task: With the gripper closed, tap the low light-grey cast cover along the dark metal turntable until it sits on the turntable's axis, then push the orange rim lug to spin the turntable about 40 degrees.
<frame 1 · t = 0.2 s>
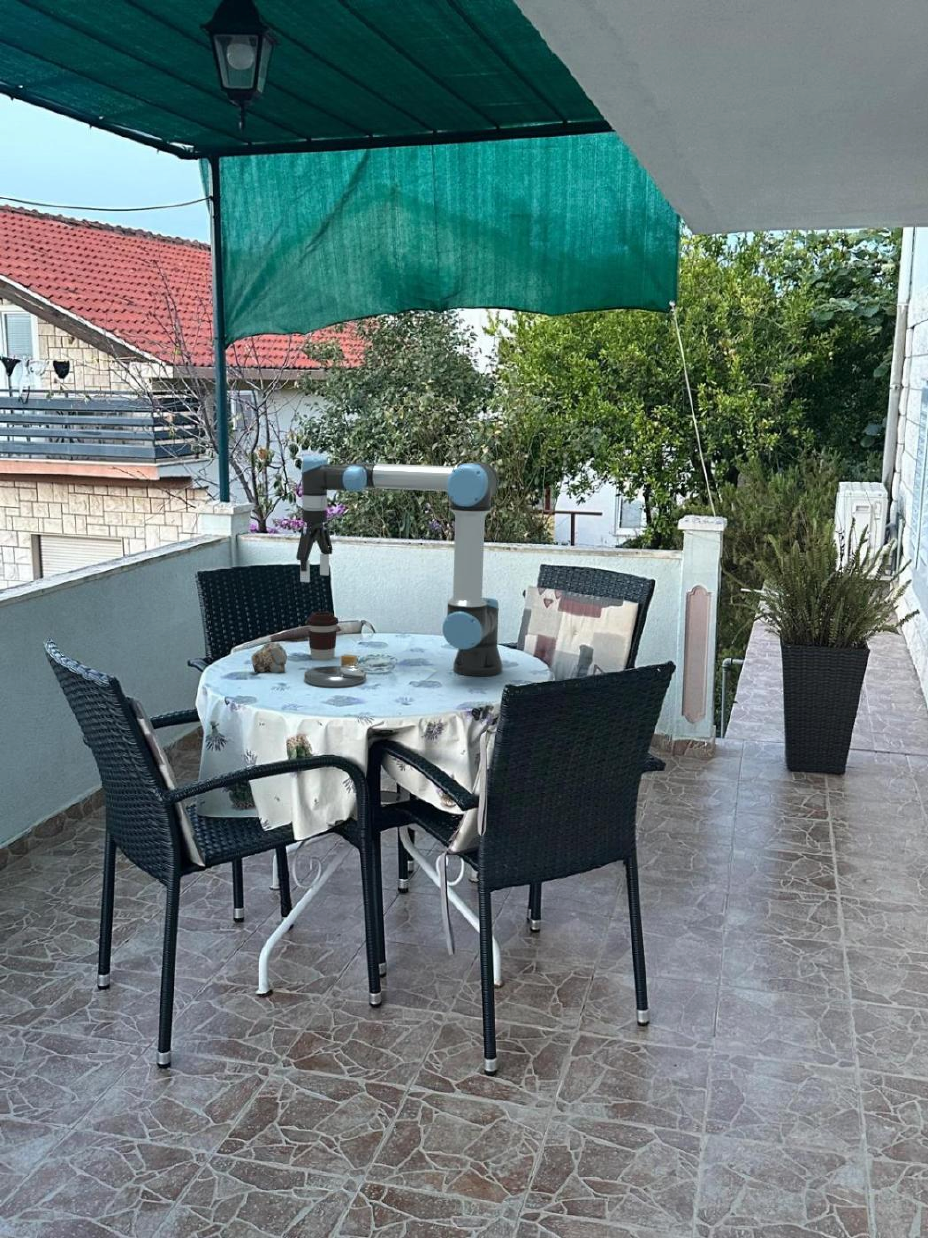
hand: (314, 578, 356), 28 cm above the table, fingers open, 13 cm apart
rock: (270, 673, 352), on the table
cover: (352, 675, 340), point 3 cm above the table, touching turntable
coffee cup: (322, 660, 370), on the table
turntable: (337, 670, 343), point 3 cm above the table, hinge at 0.0°, touching cover
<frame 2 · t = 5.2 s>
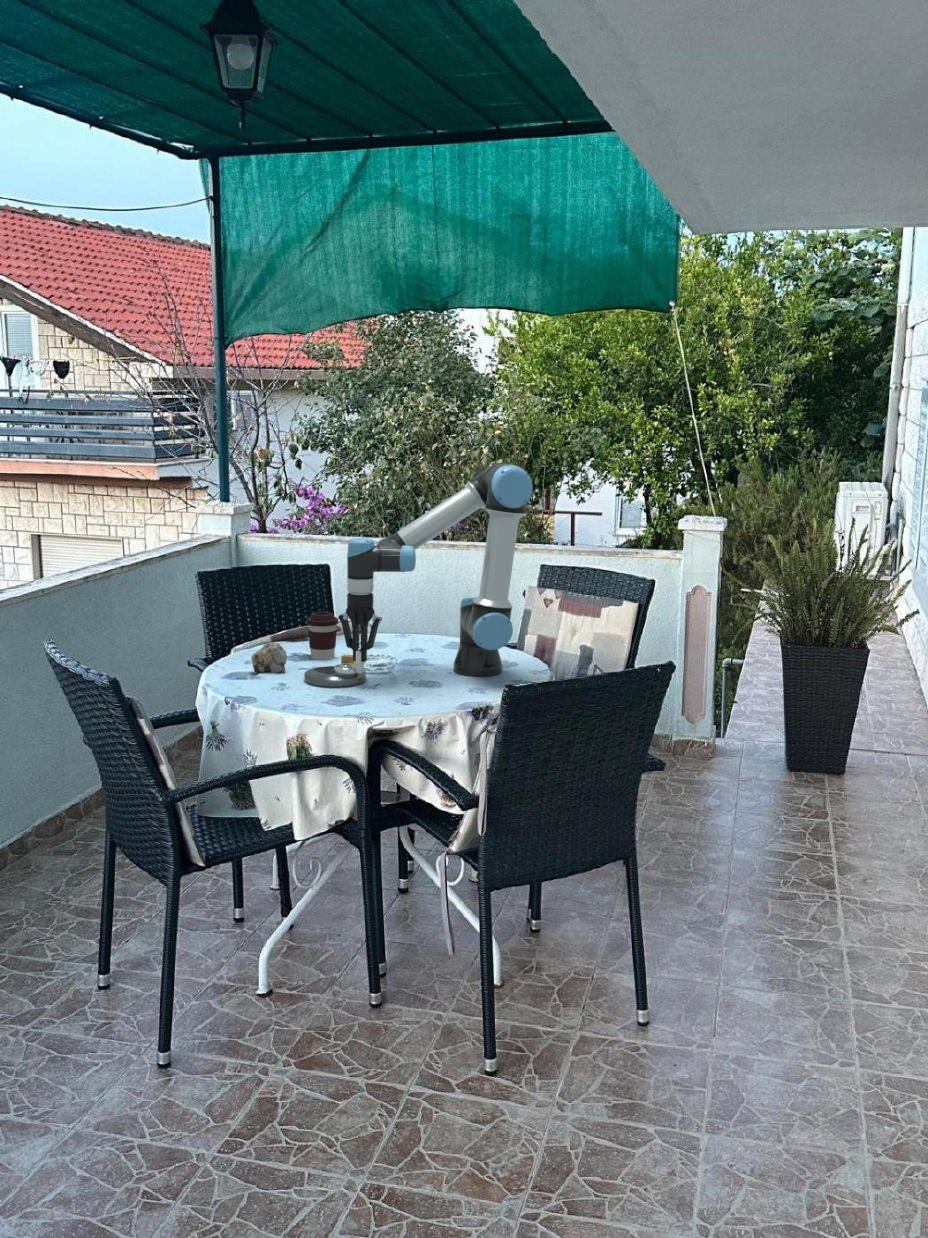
hand: (359, 671, 339), 4 cm above the table, fingers closed
cover: (346, 674, 341), point 3 cm above the table, touching turntable
everything else where it was.
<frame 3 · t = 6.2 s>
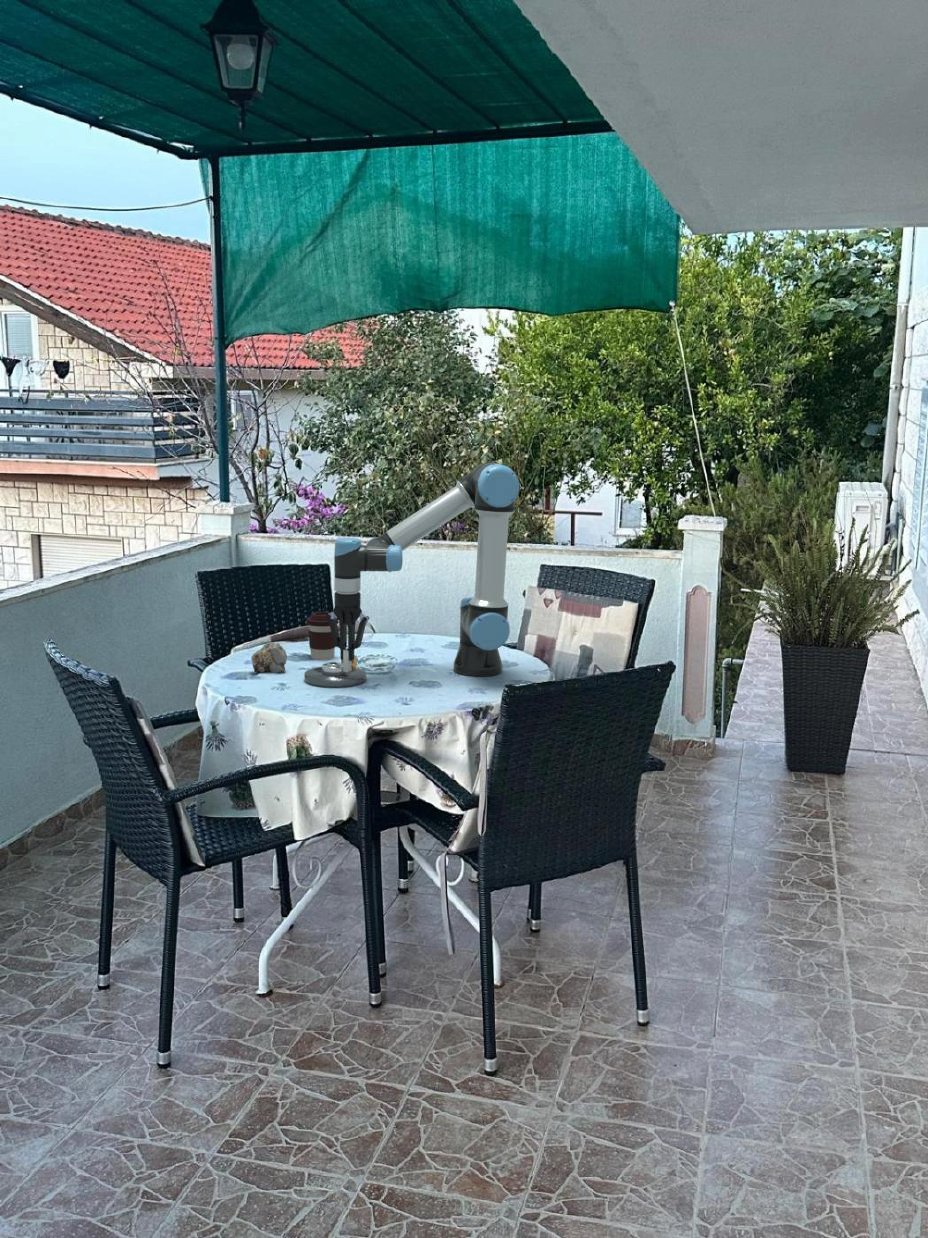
hand: (347, 671, 340), 4 cm above the table, fingers closed
cover: (334, 673, 342), point 3 cm above the table, touching turntable
everything else where it was.
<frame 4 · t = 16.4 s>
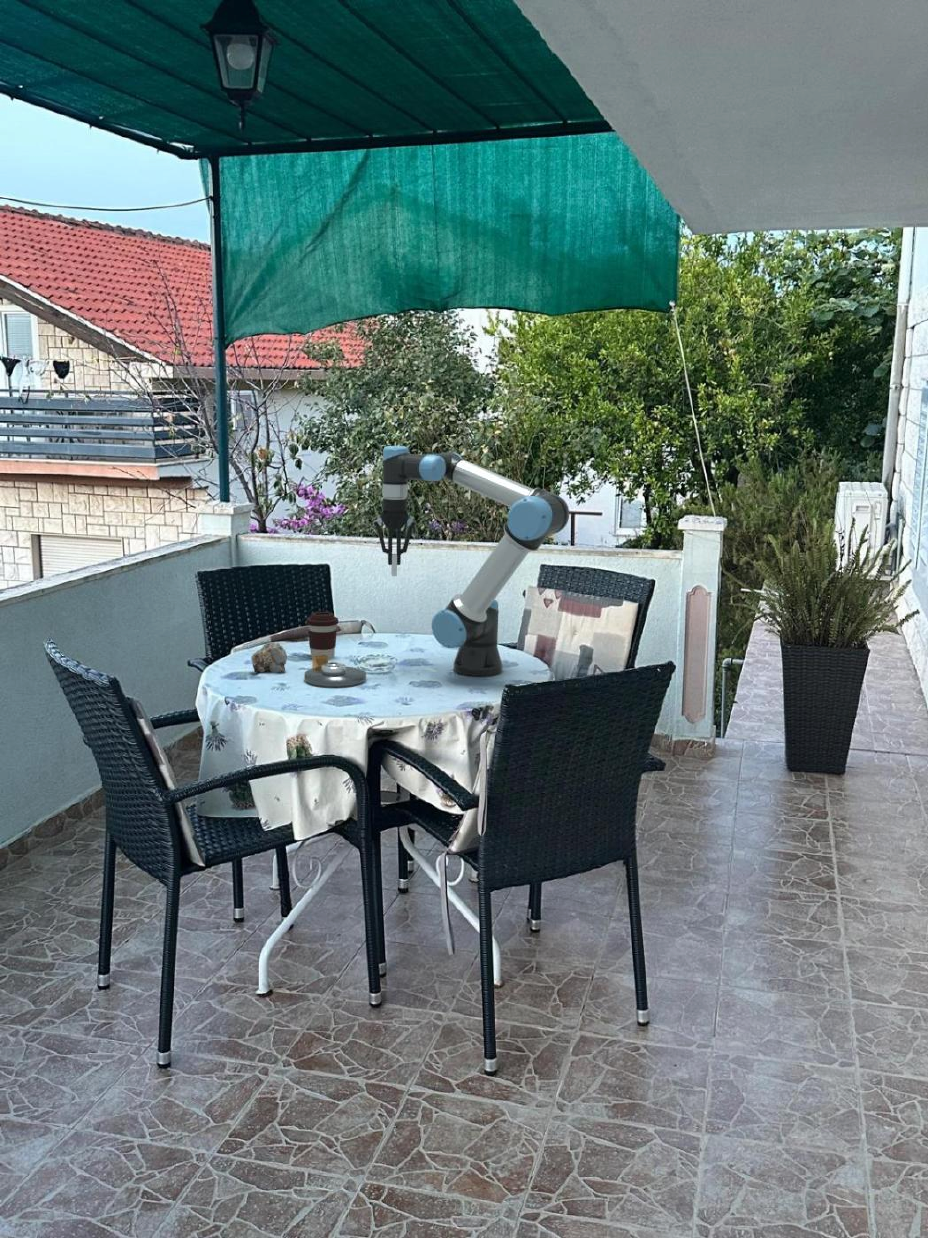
hand: (394, 575, 354), 29 cm above the table, fingers closed
turntable: (333, 670, 342), point 3 cm above the table, hinge at 48.5°, touching cover
everything else where it was.
at the end: cover 0.5 cm from the turntable (horizontally); turntable at +48° (first picture: +0°); cover tilted 0° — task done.
